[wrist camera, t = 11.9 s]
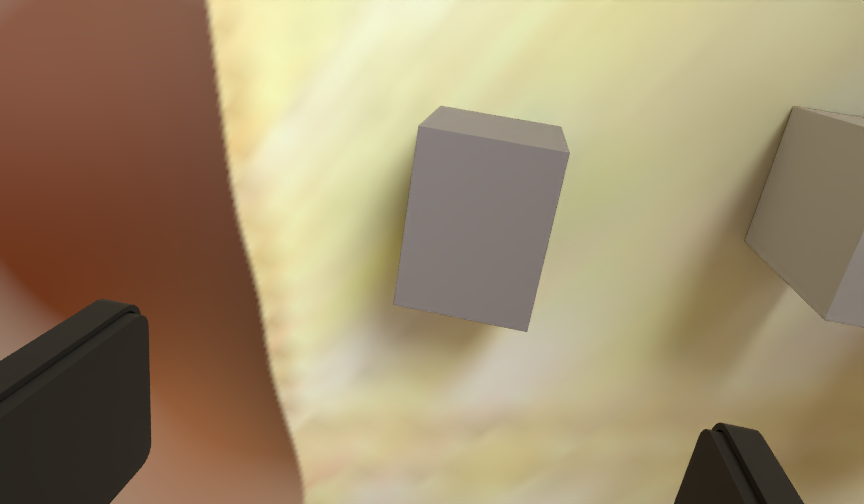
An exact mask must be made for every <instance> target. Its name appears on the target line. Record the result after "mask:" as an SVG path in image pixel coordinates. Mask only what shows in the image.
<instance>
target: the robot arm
mask: <svg viewBox="0 0 864 504" xmlns="http://www.w3.org/2000/svg"><path fill="white" fill-rule="evenodd" d="M148 330H149V329H148V320H147V318H146V317H145V316H143V315H141V313H140V311H139V308H138V307H137V306H135V305H131V304H127V303H122V302H117V301H111V300H106V299H100V300H97V301H95V302H94V303H92V304H91V305H89V306H87V307H86V308H84V309H82V310H81V311H79V312H78V313H76V314H75V315H73V316H71V317H70V318H68V319H66V320H65V321H63V322H62V323H60V324H58V325H57V326H55V327H54V328H52V329H51V330H49V331H47V332H46V333H44V334H43V335H41V336H39V337H38V338H36V339H35V340H33V341H31V342H30V343H28V344H27V345H25V346H24V347H22V348H20V349H19V350H17V351H16V352H14V353H12V354H11V355H9V356H7V357H6V358H4V359H3V360H1V361H0V504H110V503H111V501H112V500H113V499H114V498H115V497H116V496H117V495H118V493H119V492H120V491H121V490H122V489H123V488H124V487H125V485H126V484H127V483H128V482H129V481H130V479H132V477H133V476H134V475H135V474H136V473H137V472H138V470H139V469H140V468H141V467H142V466H143V464H144V463H145V461H146V459H147V458H148V455H149V452H150V448H151V414H150V371H149V331H148ZM674 504H804V503H803V501H802V500H801V498H800V496H799V495H798V493H797V492H796V490H795V488H794V487H793V485H792V483H791V482H790V480H789V479H788V477H787V475H786V474H785V472H784V470H783V469H782V467H781V466H780V464H779V462H778V461H777V459H776V457H775V456H774V454H773V453H772V451H771V449H770V448H769V446H768V444H767V443H766V441H765V440H764V438H763V436H762V435H761V434H760V433H759V431H757V430H754V429H749V428H744V427H739V426H734V425H729V424H724V423H718V424H716V425H715V426H714V427H713V428H712V430H708V429H705V430H703V431H702V432H701V433H700V436H699V438H698V440H697V443H696V446H695V448H694V451H693V454H692V456H691V459H690V462H689V465H688V467H687V470H686V473H685V475H684V478H683V481H682V483H681V486H680V489H679V491H678V494H677V497H676V499H675V502H674Z"/></svg>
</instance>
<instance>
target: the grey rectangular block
mask: <svg viewBox="0 0 864 504" xmlns="http://www.w3.org/2000/svg"><path fill="white" fill-rule="evenodd" d="M569 153H570V152H569V149H568V146H567V143H566V140H565V137H564V134H563V131H562V128H561V127H559V126H553V125H548V124H542V123H536V122H530V121H525V120H519V119H513V118H507V117H502V116H496V115H490V114H485V113H479V112H473V111H467V110H462V109H456V108H450V107H444V106H440V107H439V108H438V109H437V110H436V111H435V112H434V113H432V114H431V115H430V116H429V117H428V118H427V119H426V120H425V121H423V122H422V123H421V124H420V125H419V127H418V134H417V141H416V148H415V155H414V162H413V169H412V176H411V183H410V191H409V198H408V205H407V212H406V219H405V226H404V233H403V240H402V248H401V255H400V262H399V269H398V276H397V283H396V290H395V297H394V305H398V306H403V307H407V308H412V309H417V310H422V311H427V312H432V313H437V314H441V315H446V316H451V317H456V318H461V319H466V320H471V321H476V322H480V323H485V324H490V325H495V326H500V327H505V328H510V329H515V330H519V331H524V332H527V330H528V326H529V322H530V317H531V313H532V309H533V305H534V301H535V296H536V292H537V288H538V284H539V280H540V275H541V271H542V267H543V263H544V259H545V254H546V250H547V246H548V242H549V238H550V233H551V229H552V225H553V221H554V216H555V212H556V208H557V204H558V200H559V195H560V191H561V187H562V183H563V179H564V174H565V170H566V166H567V162H568V158H569Z"/></svg>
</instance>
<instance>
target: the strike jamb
mask: <svg viewBox="0 0 864 504" xmlns="http://www.w3.org/2000/svg"><path fill="white" fill-rule="evenodd" d="M745 242H746V243H747V244H748V245H749V246H750V247H751V248H752V249H753V250H754V251H755V252H756V253H757V254H758V255H759V256H760V257H761V258H762V259H763V260H764V261H765V262H766V263H767V264H768V265H769V266H770V267H771V268H772V269H773V270H774V271H775V272H776V273H777V274H778V275H779V276H780V277H781V278H782V279H783V280H784V281H785V282H786V283H787V284H789V285H790V286H791V287H792V288H793V289H794V290H795V291H796V292H797V293H798V294H799V295H800V296H801V297H802V298H803V299H804V300H805V301H806V302H807V303H808V304H809V305H810V306H811V307H812V308H813V309H814V310H815V311H816V312H817V313H818V314H819V315H820V316H821V317H822V318H823V319H824V320H828V321H833V322H838V323H843V324H849V325H854V326H859V327H864V117H858V116H852V115H845V114H839V113H833V112H827V111H821V110H815V109H808V108H802V107H796V106H793V109H792V112H791V115H790V117H789V120H788V123H787V126H786V128H785V131H784V134H783V137H782V139H781V142H780V145H779V148H778V150H777V153H776V156H775V159H774V161H773V164H772V167H771V170H770V172H769V175H768V178H767V181H766V183H765V186H764V189H763V192H762V194H761V197H760V200H759V203H758V205H757V208H756V211H755V214H754V216H753V219H752V222H751V225H750V227H749V230H748V233H747V236H746V238H745Z"/></svg>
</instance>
